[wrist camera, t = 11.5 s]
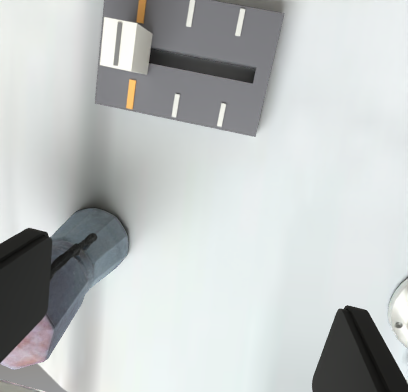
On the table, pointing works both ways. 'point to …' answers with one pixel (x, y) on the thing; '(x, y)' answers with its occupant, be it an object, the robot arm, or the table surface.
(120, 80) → the fader console
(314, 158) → the table surface
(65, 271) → the moka pot
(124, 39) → the fader knob
